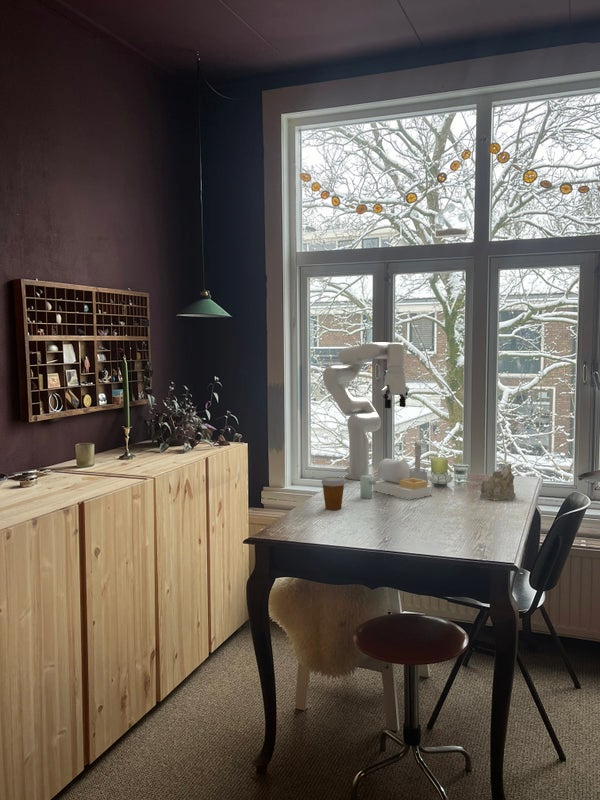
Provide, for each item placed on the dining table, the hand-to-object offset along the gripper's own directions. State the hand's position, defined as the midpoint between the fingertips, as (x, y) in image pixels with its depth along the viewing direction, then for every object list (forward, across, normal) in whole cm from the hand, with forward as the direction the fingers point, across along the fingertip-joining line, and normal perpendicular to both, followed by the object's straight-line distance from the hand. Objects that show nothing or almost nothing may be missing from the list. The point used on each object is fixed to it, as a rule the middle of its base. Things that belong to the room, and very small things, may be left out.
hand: (395, 407), depth 303 cm
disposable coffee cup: (+37, +50, +13) cm, 63 cm away
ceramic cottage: (+37, -20, +41) cm, 59 cm away
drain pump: (+37, +26, +9) cm, 45 cm away
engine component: (+37, -12, +3) cm, 39 cm away
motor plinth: (+36, +8, +12) cm, 39 cm away
